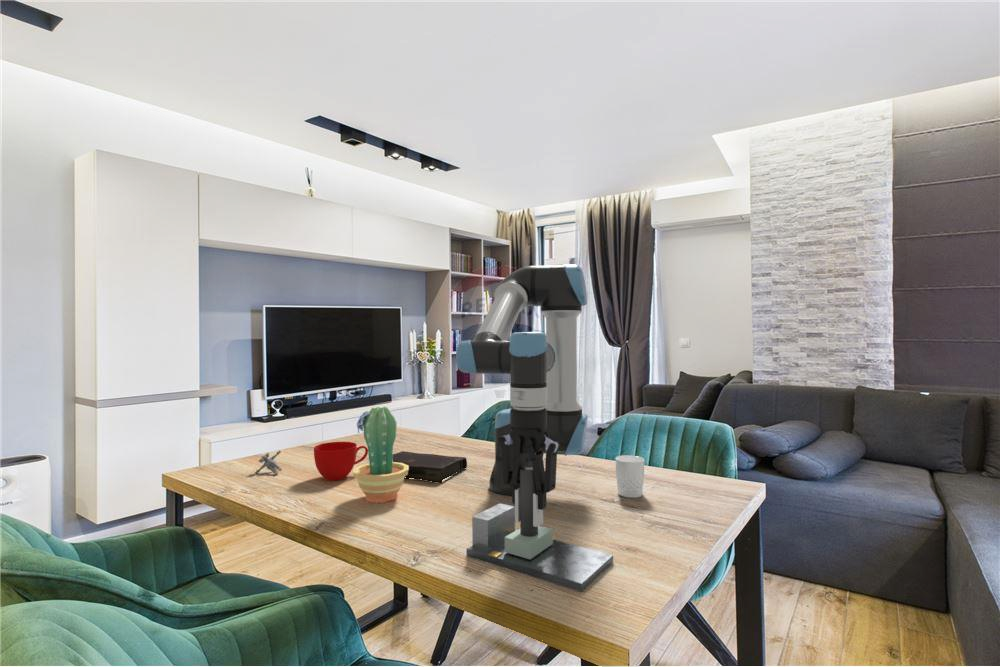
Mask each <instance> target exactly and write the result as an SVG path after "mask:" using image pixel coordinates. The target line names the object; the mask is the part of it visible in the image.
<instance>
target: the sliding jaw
mask: <svg viewBox="0 0 1000 667" xmlns="http://www.w3.org/2000/svg"><path fill="white" fill-rule="evenodd" d="M535 492H536V485H535V479H534V473H533V468H532V467H525V468H521V469H520V522H519V523H520V524H519V525H520V526H519V527H520V528H517V529H515V530H516V531H514V532H513V533H511V534H509V535H507V536H506V537H505V552H506V553H510V554H513V555H516V556H520V557H523V558H527V559H532V558H533V557H535V556H536V555H537V554H539V553H540V552H542V551H543V550H545V549H546V548H547V547H549V546H550V545H552V544H553V540H554V529H553V528H549V527H545V526H541V525H539V526H537V527H535V526H533V493H535Z"/></svg>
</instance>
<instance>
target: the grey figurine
mask: <svg viewBox="0 0 1000 667" xmlns="http://www.w3.org/2000/svg"><path fill="white" fill-rule="evenodd" d="M281 452H282V451H281V450H278V451H276V453H275V454H274V455H273V456H271V457H270V453H269V452H267V453H266V454H264V455H261V457H260V459H259V460H258V463H263V462H264V463H263V464H262V466H261V467H259V469H256V470H255V472H254V473H255V474H259V473H260V471H261V470H263V469H264V468H265V467H266V469H267V470H270V471H271V473H273V475H274V476H277V475H278V474H279V472H281V471H282V467H280V466H279V465H278V464H277V461H275V458H276V457H277V456H279V455H280V453H281ZM269 457H270V458H269Z"/></svg>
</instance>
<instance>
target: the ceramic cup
mask: <svg viewBox="0 0 1000 667" xmlns="http://www.w3.org/2000/svg"><path fill="white" fill-rule="evenodd" d="M366 446H367V445H366ZM366 446H365V445H359V446H358V445H357V443H355V442H352V441H332V442H324V443H320V444H317V445H315V446H314V447H313V458H314V464H315V467H316V469H317V472H318V473H319V474H320V475H321V476H322V478H324V480H326V481H333V480H334V481H340V480H341V481H342V480H344V479H346V478H347V477H348V475H349V474H350V473H351V472H352V471H353V470H354V468H355V465H357V464H359V463H361V462H362V461H364V460H365V459H366V458H367V456H368V446H367V447H366ZM362 449H364V450H365V452H364V454H363V456H362V457H361V458H359V459H358V460H357V453H358V451H360V450H362Z"/></svg>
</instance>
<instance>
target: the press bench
mask: <svg viewBox="0 0 1000 667" xmlns="http://www.w3.org/2000/svg"><path fill="white" fill-rule="evenodd" d="M471 520H472V521H471V522H472V523H471V526H472V527H471V528H472V529H471V530H472V531H471V532H472V539H471V540H472V545H471V546H469V547H467V548H466V549H465V550H466V551H465V552H466V557H468V558H471V559H475V560H479V561H481V562H484V563H487V562H488V564H490V563H491V564H492V565H494V566H498V567H501V568H504V569H506V568H507V570H511V571H513V572H517V573H520V574H523V575H525V576H529V577H533V578H536V579H537V580H541V579H542V581H545V582H549V583H551V584H554V585H557V586H562V587H564V588H568V589H571V590H574V591H577V592H580V593H583V592H584V591H585V590H586V589H587V588H588V587H589V586H591V584H593V582H594V581H595V580H597V579H598V577H600V576H601V575H602V574H603V573H604V572H605V571H606V570H607V569H609V567H610V566H611V565H612V564H614V555H613V554H610V553H606V552H603V551H599V550H596V549H591V548H587V547H584V546H579V545H576V544H572V543H569V542H564V541H559V540H556V539H553V544H552V545H550V546H549V547H547V548H546V549H545V550H543V551H542V552H540V553H539V554H537V555H536V556H535V557H533V558H532V559H527V558H523V557H520V556H516V555H513V554H510V553H506V552H505V537H506V536H507V535H509V534H511V533H513V532H514V531H516V530H517V529H516V522H515V505H514V506H513V505H509V504H505V503H498V504H495V505H493V506H492V507H489V508H487V509H485V510H483V511H481V512H479V513H477V514H475V515H473V516H471ZM491 564H490V565H491Z"/></svg>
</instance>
